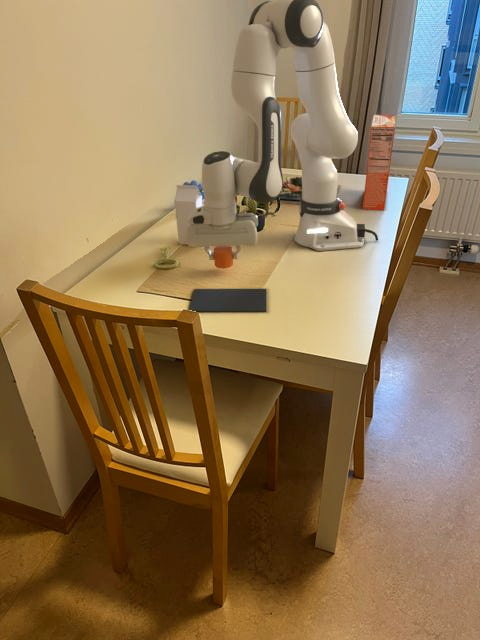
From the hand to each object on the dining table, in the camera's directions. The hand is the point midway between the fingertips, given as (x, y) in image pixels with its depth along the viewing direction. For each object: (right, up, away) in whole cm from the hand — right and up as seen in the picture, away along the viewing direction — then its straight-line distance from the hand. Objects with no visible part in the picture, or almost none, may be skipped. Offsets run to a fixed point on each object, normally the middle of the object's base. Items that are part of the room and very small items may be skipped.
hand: (223, 258), depth 146 cm
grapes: (-13, +25, +50) cm, 57 cm away
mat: (+2, -13, -12) cm, 18 cm away
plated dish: (+28, +36, +65) cm, 79 cm away
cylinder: (0, -2, +1) cm, 2 cm away
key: (-18, 0, +10) cm, 21 cm away
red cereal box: (+59, +30, +54) cm, 85 cm away
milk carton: (-11, +9, +23) cm, 27 cm away
